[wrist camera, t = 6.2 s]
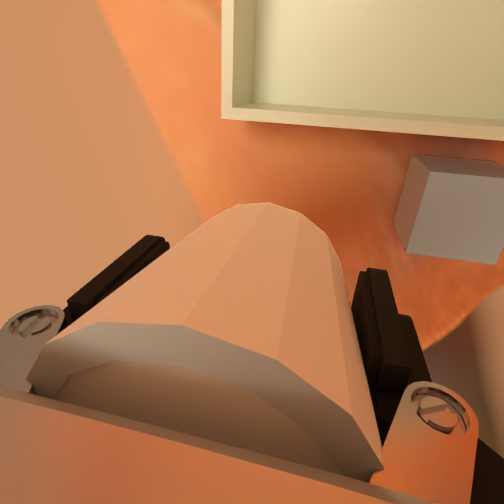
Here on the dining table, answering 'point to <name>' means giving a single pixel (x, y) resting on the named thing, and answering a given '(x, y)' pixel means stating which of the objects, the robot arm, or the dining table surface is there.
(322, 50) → the tote
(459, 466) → the robot arm
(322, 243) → the shot glass
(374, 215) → the dining table surface
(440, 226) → the cube
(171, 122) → the dining table surface
